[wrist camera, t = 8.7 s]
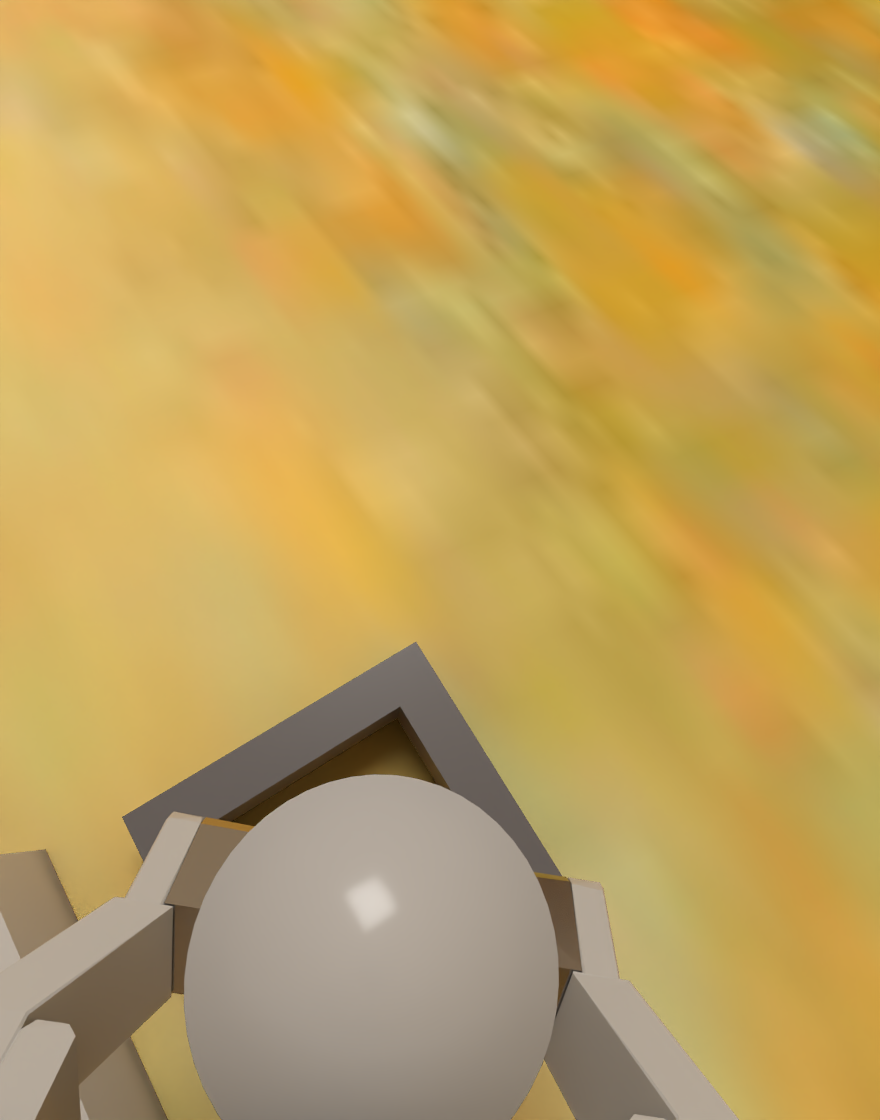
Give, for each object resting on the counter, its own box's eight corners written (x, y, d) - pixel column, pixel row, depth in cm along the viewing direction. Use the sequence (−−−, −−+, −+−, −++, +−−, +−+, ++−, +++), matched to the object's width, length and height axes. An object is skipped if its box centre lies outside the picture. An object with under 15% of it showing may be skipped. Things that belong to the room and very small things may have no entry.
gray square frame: (300, 1116, 18) (290, 1163, 15) (152, 816, 20) (121, 816, 17) (568, 916, 20) (595, 930, 17) (411, 660, 21) (415, 641, 19)
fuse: (342, 1028, 15) (300, 1298, 7) (254, 859, 16) (119, 906, 8) (495, 918, 16) (630, 1030, 8) (404, 764, 17) (434, 709, 8)
